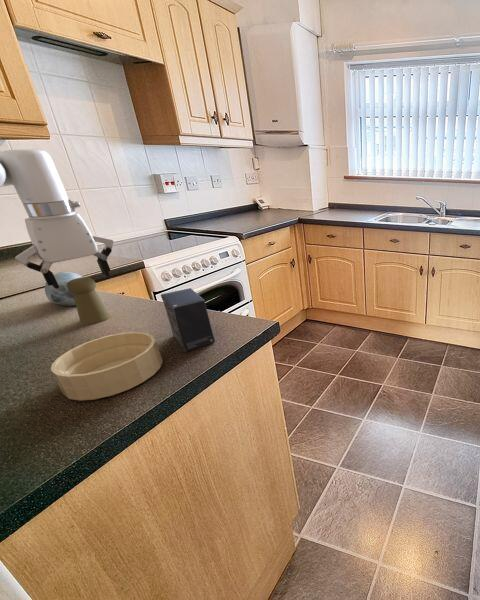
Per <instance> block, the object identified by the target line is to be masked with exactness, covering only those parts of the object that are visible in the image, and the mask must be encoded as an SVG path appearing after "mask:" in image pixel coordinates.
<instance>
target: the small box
mask: <svg viewBox="0 0 480 600" xmlns="http://www.w3.org/2000/svg"><path fill="white" fill-rule="evenodd" d="M160 298H161V300H162V302H163V305H164V308H165V312H166V315H167V319H168V321H169V325H170V329H171V333H172V336H173V337H174V339H175V340H176V342H177V343H178V345H179V346H180V347H181V349H182V350H183V352H184V353H186V352H189V351H192V350H196V349H198V348H201V347H204V346H207V345H210V344H213V343H215V342H216V341H215V336H214V332H213V329H212V324H211V321H210V316H209V312H208V309H207V305H206V301H205V299H204V298H203V297H202V296H201V295H200V294H198V293H197V292H196V291H195V290H194V289H192V288H191V287H189V288H184V289H180V290H175V291H170V292H165V293H161V294H160Z"/></svg>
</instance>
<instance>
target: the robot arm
mask: <svg viewBox="0 0 480 600" xmlns="http://www.w3.org/2000/svg"><path fill="white" fill-rule="evenodd" d="M8 186H13V187H14V189H15V191H16V194H17V195H18V198H19V199H20V202H21V204H22V206H23V208H24V210H25V213H26V214H27V216H28V217H27V218H24V223H25V227H26V230H27V233H28V236H29V239H30V241H31V244H32V245H31V246H29V247H28V248H27V249H25V250H23V251H22V252H21V253H18V254H17V255H16V256H15V257H14V258H15V260H16V261H18V262H19V263H21V264H22V265H24V266H26V268H28V269H30V270H33V271H36V272H39V273H41V274H42V277H43V278H44V280H45V283H46V282H47V284H48V285H49V286H50V285H52V286H53V287H54V288H55V289H57V288H59V285H58V283H57V281H56V279H55V277H54V273H53V272H52V270H50V269H51V267H52V265H53V264H54V263H60V262H66V261H71V260H76V259H80V258H86V257H90V256H94V257H96V258H97V260H96V262H97V264H98V267H99V269H100V272H101V274H102V275H103V276H105V277H109V276H111V275H110V272H111V268H110V265H109V263H108V261H107V260H108V257H109V256H110V255H111V253H112V252H113V246H114V240H113V239H110V238H106V237H101V236H96V235H92V233H91V231H90V229H89V227H88V225H87V224H86V222H85V220H84V219H83V218H82V216H81V215H80V213H79V212H75V211H76V209H77V208H81V204H80V202H79V201H73V200H71V199H69V196H68V193H67V191H66V189H65V186H64V184H63V182H62V179H61V177H60V175H59V172H58V170H57V167H56V164H55V162H54V161H53V158H52V156H51V155H50V154H49V152H47V151H45V150H43V149H33V148H32V149H31V148H29V149H7V150H3V151H0V188H2V187H8ZM97 243H101V244H103V245H104V248H103V249H102V250H101V252H100V251H99V249H98V245H97ZM35 254H36V255H37V256H38V258H39V260H41V261H40V263H39V264H36V263H34V262H32V261H31V260H29V258H30V257H32V256H33V255H35Z"/></svg>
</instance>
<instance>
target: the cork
mask: <svg viewBox="0 0 480 600" xmlns="http://www.w3.org/2000/svg"><path fill="white" fill-rule="evenodd" d="M67 288H68V290H69V291H70V292H71V293H73V294H74V298H75V303H76V305H75V306H76V311H77V314H78V315H77V316H78V318H79V322H80V323H79V324H81V325H93V324H99V323H101V322H104V321H106V320H108V319H110V318H111V316H112V315H111V313H110V312H109V310H108V308H107V307H106V305H105V303H104V302H103V300H102V299H101V297H100V295H99V294H98V292H97V290H96V288H97V284H96V281H95V280H94V278H92V277H88V276H85V277H84V276H83V277H81V278H76V279H73V280H70V281H69V282H68V283H67ZM109 317H110V318H109Z"/></svg>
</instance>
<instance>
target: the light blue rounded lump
mask: <svg viewBox="0 0 480 600" xmlns="http://www.w3.org/2000/svg"><path fill="white" fill-rule="evenodd" d="M53 275H54V277H55V279H56V281H57V283H58V285H59V288H57V289H55V288H54V287H53V286H52V285H50V286H49V285H48V284H47V282H46V281H45V285H44V293H45V297H46V298H47V299H48V301H49V302H52V303H53V304H57V305H60V306H68V307H70V306H73V307H74V306H76V303H75V298H74V294H73V293H71V292H70V291H69V290H68V288H67V283H68V282H69V281H70V280H73V279H76V278H81V277H84V276H83V275H81V274H79V273H76V272H70V271H60V272H57V273H53Z"/></svg>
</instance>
